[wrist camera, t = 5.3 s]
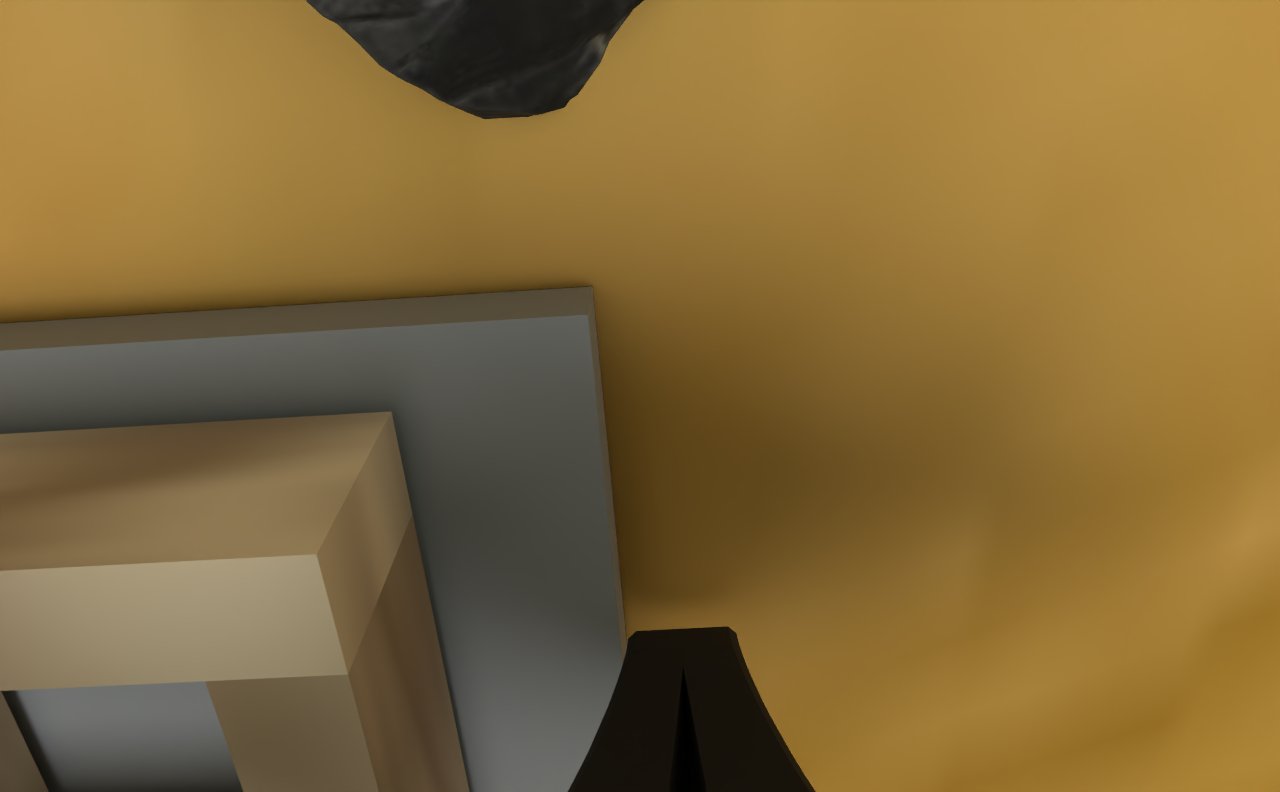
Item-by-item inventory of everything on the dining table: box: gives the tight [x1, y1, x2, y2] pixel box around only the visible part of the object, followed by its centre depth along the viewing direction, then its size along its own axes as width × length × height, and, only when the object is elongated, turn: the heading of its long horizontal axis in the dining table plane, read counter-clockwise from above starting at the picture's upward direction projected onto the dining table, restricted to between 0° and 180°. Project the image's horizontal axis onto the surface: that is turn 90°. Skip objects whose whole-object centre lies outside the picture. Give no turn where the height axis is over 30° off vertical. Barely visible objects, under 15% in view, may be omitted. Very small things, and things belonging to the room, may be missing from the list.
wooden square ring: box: [0, 411, 469, 792], centre depth 13 cm, size 8×8×3 cm
